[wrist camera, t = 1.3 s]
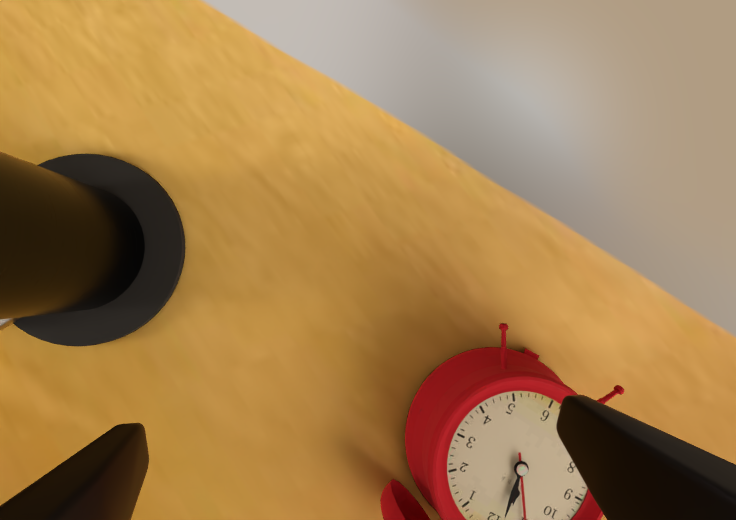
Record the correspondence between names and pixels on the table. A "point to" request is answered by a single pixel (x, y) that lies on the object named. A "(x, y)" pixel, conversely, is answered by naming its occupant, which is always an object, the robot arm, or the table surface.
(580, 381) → the table surface
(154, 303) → the base
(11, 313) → the labeled black canister
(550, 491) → the alarm clock
